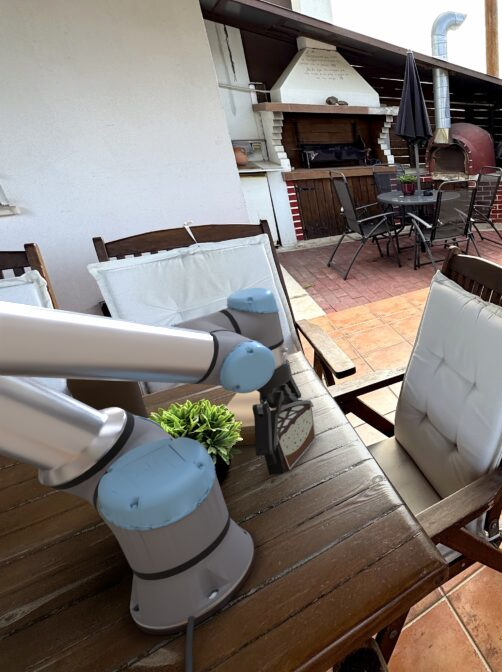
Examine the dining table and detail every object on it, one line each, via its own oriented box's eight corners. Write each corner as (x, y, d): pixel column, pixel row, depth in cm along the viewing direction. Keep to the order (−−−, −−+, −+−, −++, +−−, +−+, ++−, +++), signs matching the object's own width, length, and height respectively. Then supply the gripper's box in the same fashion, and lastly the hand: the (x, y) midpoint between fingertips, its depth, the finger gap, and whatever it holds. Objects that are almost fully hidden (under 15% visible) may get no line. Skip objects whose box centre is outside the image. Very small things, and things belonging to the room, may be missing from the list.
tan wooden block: (266, 442, 91) (261, 424, 89) (212, 448, 89) (206, 430, 87) (292, 395, 107) (288, 380, 106) (247, 400, 106) (243, 384, 104)
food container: (295, 432, 94) (287, 396, 91) (319, 434, 93) (312, 398, 90) (257, 472, 83) (246, 433, 79) (285, 475, 82) (275, 436, 78)
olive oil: (165, 417, 99) (131, 327, 90) (122, 448, 89) (80, 350, 80) (126, 415, 100) (89, 325, 91) (79, 446, 90) (32, 348, 81)
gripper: (263, 398, 69) (287, 493, 76) (305, 335, 91) (321, 413, 98) (215, 402, 67) (244, 499, 75) (270, 338, 90) (288, 417, 97)
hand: (288, 450), depth 87 cm, fingers closed on food container, 12 cm apart
